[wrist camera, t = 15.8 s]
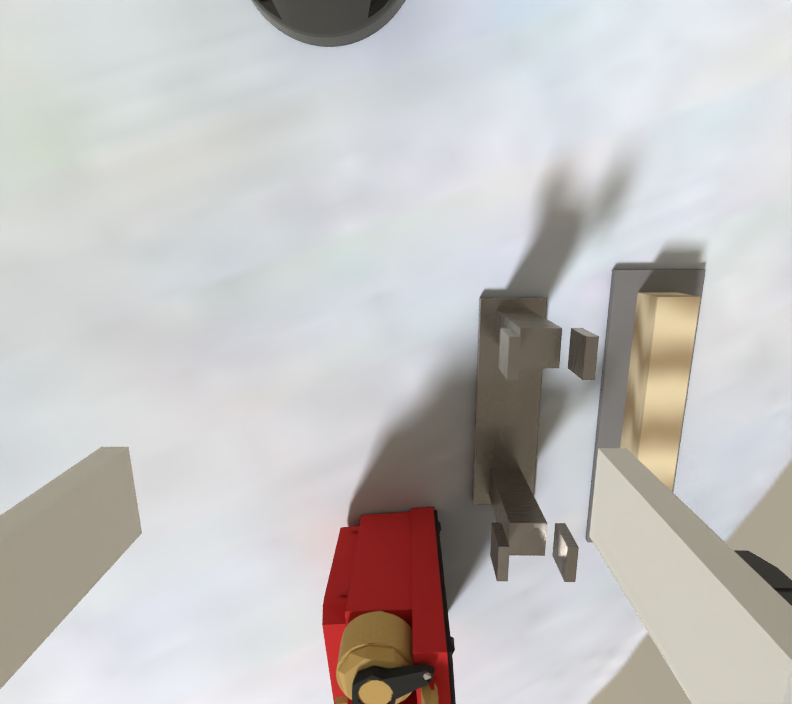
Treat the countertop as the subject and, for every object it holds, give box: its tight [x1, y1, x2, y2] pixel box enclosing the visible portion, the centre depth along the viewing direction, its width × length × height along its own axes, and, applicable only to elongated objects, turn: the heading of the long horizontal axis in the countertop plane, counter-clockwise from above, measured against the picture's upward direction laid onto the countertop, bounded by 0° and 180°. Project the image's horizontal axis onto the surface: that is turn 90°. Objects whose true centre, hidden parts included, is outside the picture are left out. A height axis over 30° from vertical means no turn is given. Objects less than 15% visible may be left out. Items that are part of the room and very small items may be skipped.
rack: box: [473, 298, 599, 582], centre depth 39 cm, size 21×6×13 cm, turn 1°
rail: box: [620, 292, 700, 491], centre depth 43 cm, size 24×4×4 cm, turn 1°
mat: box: [586, 269, 705, 542], centre depth 45 cm, size 28×8×1 cm, turn 1°
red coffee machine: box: [322, 507, 456, 704], centre depth 41 cm, size 16×10×20 cm, turn 5°
